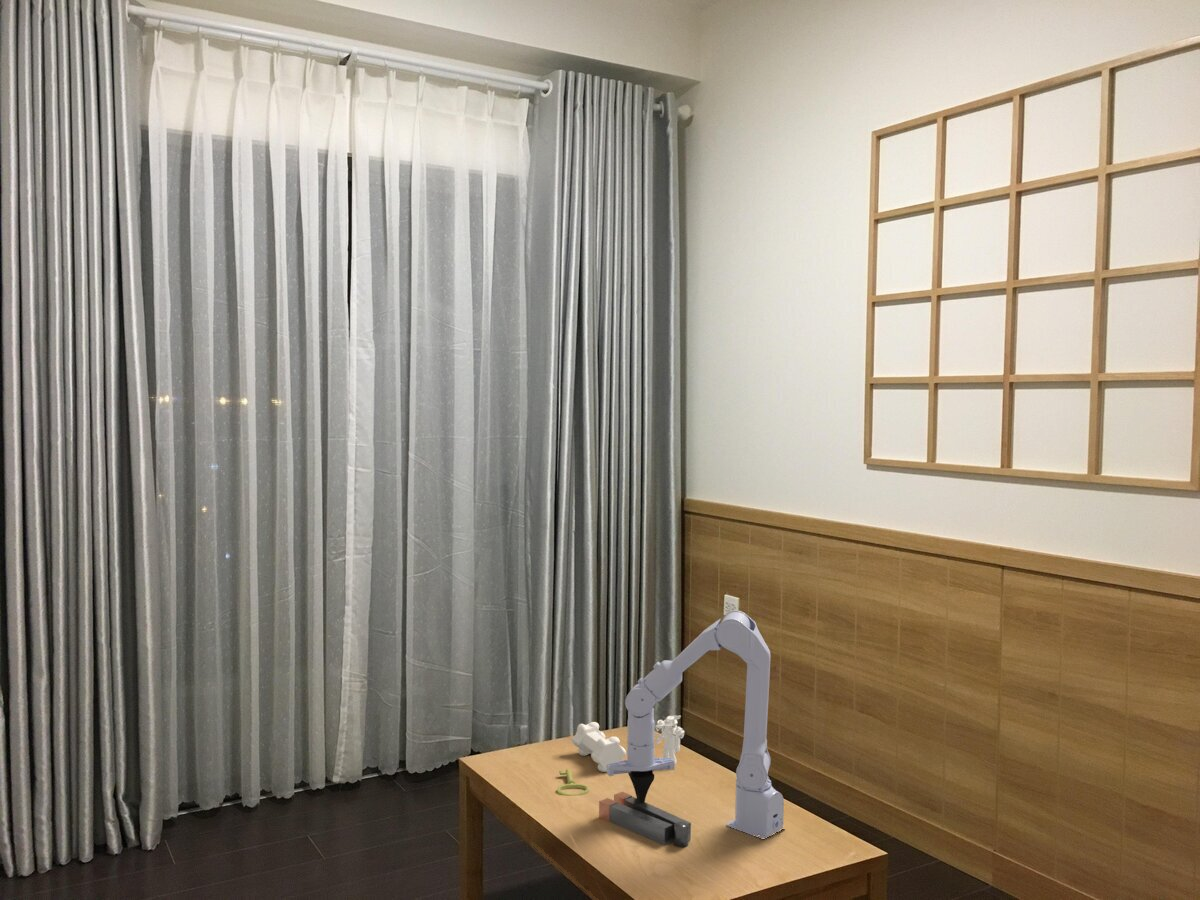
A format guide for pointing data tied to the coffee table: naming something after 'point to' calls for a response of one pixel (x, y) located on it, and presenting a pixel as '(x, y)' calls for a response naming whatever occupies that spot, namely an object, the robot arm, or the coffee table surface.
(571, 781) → the key
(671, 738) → the flower shoulder figurine
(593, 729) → the bone shaped toy
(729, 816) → the coffee table surface
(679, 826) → the bar
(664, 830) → the tongs fixed arm
